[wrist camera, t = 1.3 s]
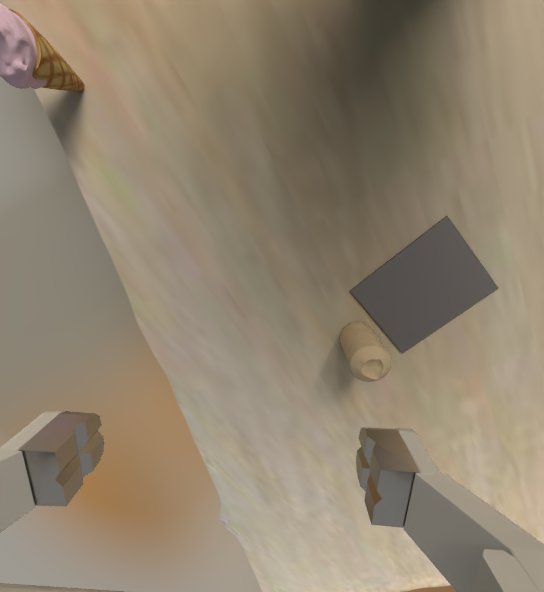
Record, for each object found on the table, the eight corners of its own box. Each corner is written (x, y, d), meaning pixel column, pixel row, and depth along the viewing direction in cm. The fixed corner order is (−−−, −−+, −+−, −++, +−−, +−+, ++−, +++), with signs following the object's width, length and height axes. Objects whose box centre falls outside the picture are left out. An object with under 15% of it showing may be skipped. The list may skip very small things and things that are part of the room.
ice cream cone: (113, 100, 39) (12, 38, 25) (79, 126, 40) (-37, 81, 26) (81, 48, 37) (-46, -49, 23) (46, 77, 39) (-96, 1, 24)
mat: (446, 216, 41) (447, 216, 41) (497, 287, 44) (498, 288, 43) (349, 290, 45) (350, 291, 45) (401, 352, 48) (402, 353, 47)
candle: (376, 347, 48) (399, 382, 38) (344, 355, 48) (358, 392, 39) (368, 317, 46) (390, 346, 37) (335, 327, 47) (347, 357, 37)
